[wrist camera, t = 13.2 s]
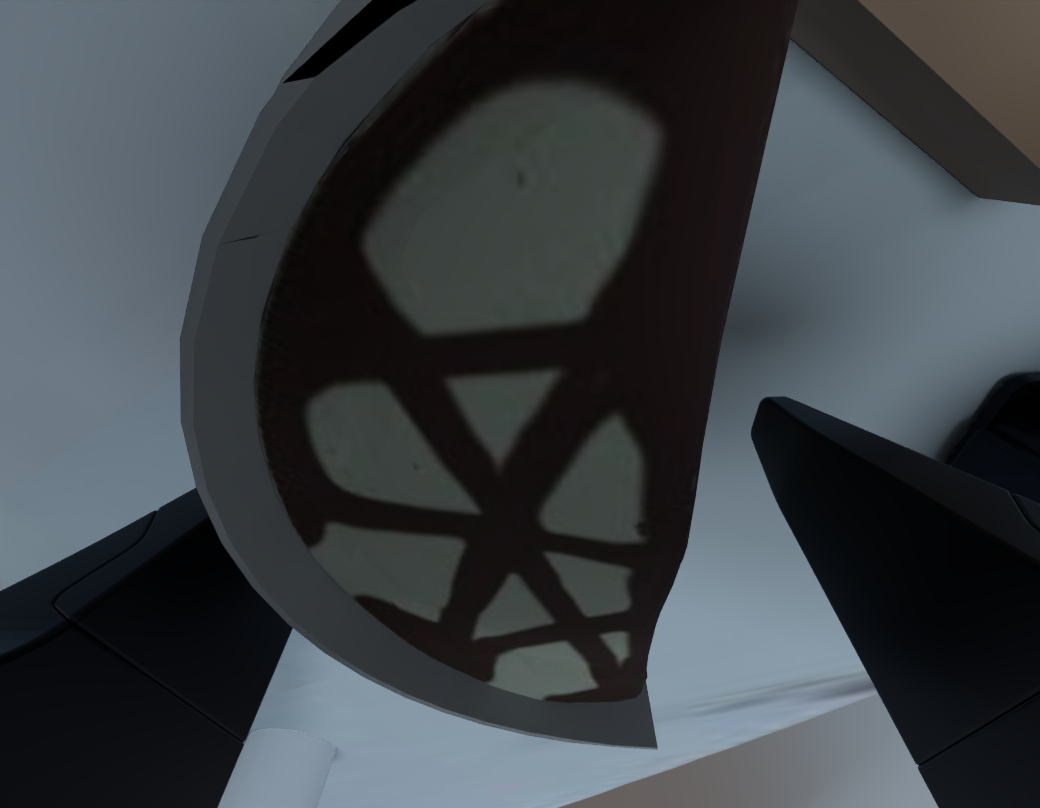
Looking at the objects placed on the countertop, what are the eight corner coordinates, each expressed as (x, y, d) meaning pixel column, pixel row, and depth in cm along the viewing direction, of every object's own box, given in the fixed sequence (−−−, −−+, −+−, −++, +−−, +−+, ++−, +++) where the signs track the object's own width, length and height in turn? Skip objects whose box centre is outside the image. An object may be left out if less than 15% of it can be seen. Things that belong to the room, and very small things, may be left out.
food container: (362, 69, 10) (-688, -359, 1) (611, 39, 9) (1260, -912, 1) (451, 445, 17) (360, 748, 8) (596, 441, 16) (654, 758, 8)
